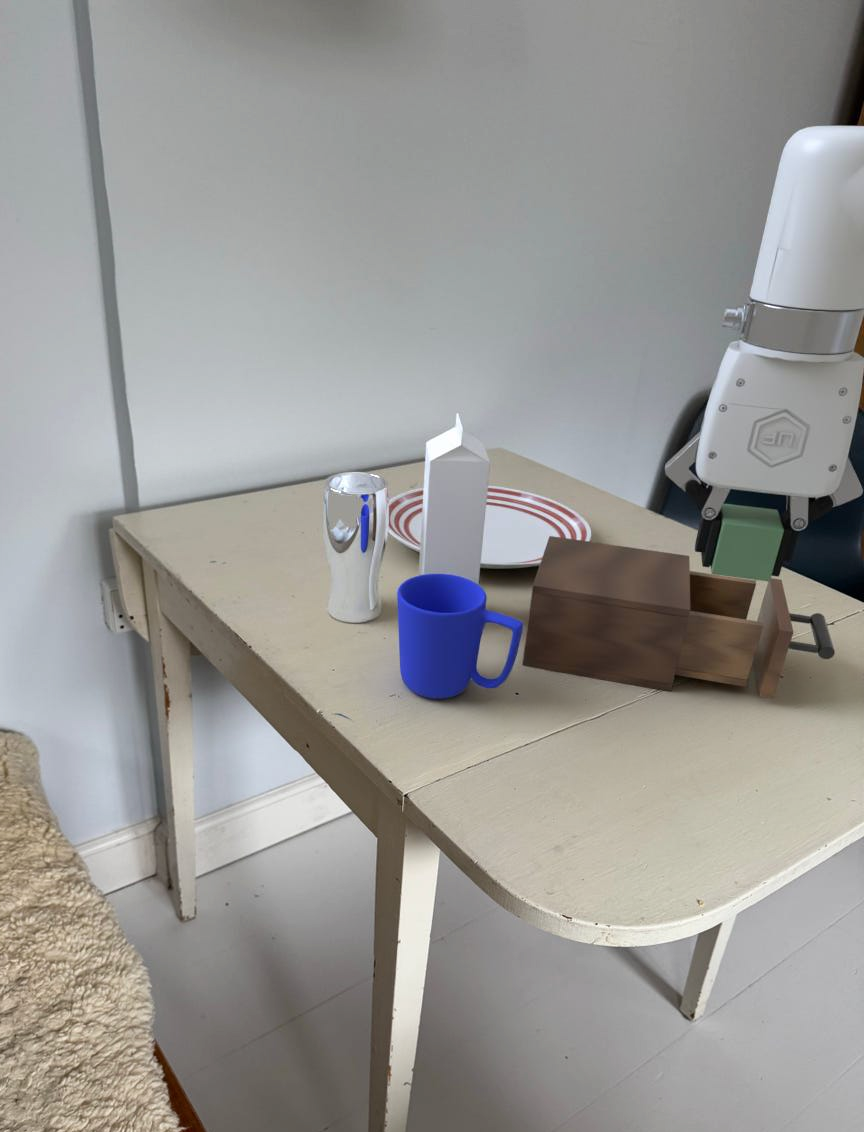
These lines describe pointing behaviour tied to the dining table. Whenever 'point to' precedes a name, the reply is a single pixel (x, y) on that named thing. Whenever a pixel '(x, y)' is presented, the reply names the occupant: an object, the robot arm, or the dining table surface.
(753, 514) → the block
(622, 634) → the cabinet
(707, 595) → the drawer
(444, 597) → the mug
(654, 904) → the dining table surface
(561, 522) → the dinner plate
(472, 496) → the milk
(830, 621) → the dining table surface
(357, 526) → the beer glass
